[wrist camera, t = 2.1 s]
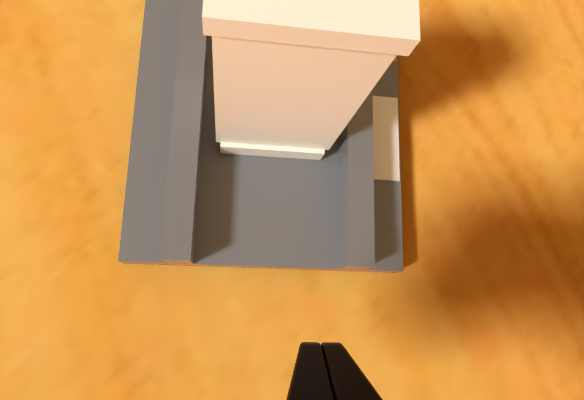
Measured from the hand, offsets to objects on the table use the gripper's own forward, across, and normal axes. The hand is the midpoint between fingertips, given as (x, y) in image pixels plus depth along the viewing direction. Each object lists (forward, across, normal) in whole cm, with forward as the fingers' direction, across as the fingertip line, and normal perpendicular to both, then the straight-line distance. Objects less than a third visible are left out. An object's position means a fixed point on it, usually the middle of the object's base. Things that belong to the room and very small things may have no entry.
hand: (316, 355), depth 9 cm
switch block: (+16, 0, +1) cm, 16 cm away
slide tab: (+15, 0, +2) cm, 15 cm away
